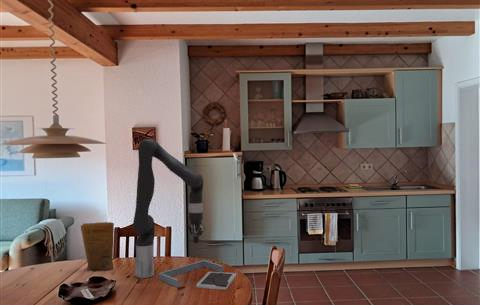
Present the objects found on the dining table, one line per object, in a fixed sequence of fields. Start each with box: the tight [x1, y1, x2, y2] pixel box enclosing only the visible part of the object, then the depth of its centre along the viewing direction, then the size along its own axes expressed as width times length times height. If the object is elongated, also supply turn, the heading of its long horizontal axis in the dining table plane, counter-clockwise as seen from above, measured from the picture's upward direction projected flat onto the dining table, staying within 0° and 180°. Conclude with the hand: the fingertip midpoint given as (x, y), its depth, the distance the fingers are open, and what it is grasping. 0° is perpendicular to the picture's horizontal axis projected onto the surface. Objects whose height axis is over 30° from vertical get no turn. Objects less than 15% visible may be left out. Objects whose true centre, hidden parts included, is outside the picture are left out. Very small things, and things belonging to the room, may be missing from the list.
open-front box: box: [158, 259, 224, 288], centre depth 210 cm, size 31×17×4 cm, turn 134°
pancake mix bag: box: [80, 221, 115, 272], centre depth 224 cm, size 7×19×28 cm, turn 83°
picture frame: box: [195, 271, 237, 291], centre depth 201 cm, size 16×3×21 cm
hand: (196, 243), depth 208 cm, fingers closed
